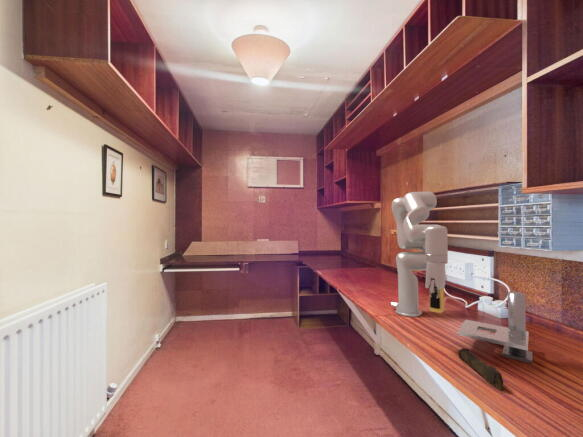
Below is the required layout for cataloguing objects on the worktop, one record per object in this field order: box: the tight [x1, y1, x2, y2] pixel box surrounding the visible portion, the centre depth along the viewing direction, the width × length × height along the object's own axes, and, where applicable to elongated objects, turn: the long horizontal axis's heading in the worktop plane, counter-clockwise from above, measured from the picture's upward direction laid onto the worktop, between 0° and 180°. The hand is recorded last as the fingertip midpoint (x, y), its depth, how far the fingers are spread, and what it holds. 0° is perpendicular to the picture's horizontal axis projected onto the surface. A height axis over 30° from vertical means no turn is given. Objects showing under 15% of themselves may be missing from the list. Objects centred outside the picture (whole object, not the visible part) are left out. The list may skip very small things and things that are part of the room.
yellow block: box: [429, 286, 445, 314], centre depth 107 cm, size 4×4×9 cm
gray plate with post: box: [457, 291, 533, 364], centre depth 104 cm, size 21×16×22 cm
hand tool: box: [457, 347, 504, 391], centre depth 89 cm, size 19×4×4 cm, turn 175°
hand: (436, 305), depth 107 cm, fingers closed on yellow block, 4 cm apart
